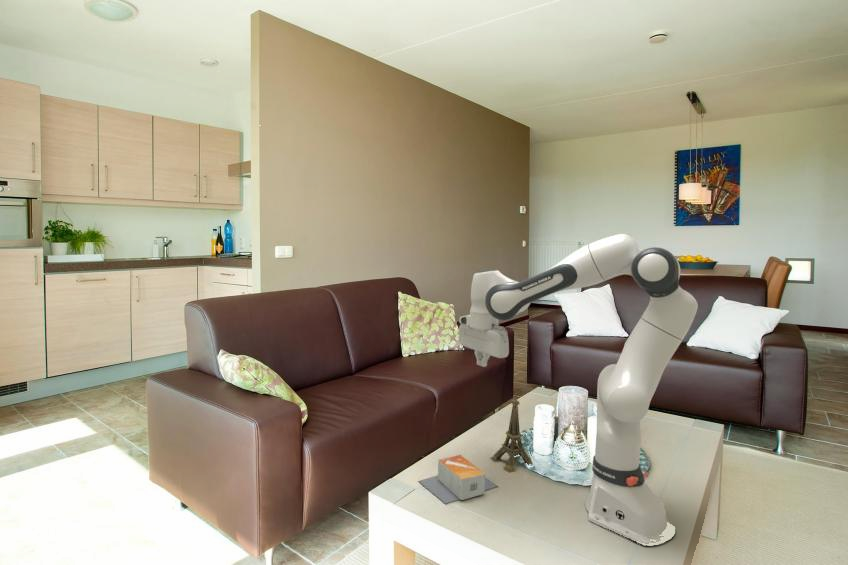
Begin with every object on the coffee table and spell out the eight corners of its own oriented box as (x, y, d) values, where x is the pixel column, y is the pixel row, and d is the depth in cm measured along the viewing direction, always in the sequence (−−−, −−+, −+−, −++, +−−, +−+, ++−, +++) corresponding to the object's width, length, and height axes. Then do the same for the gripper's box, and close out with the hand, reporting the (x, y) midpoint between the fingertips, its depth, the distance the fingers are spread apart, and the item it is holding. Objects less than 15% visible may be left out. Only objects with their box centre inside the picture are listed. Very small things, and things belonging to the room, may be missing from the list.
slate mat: (498, 486, 143) (498, 485, 143) (445, 504, 133) (445, 503, 133) (468, 467, 155) (468, 466, 155) (418, 481, 145) (418, 480, 145)
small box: (461, 479, 134) (437, 459, 145) (461, 501, 135) (437, 479, 146) (485, 472, 138) (460, 454, 149) (485, 494, 138) (459, 474, 150)
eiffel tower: (535, 466, 157) (539, 391, 154) (508, 473, 152) (512, 395, 150) (515, 453, 166) (519, 381, 164) (489, 458, 162) (493, 385, 159)
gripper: (515, 326, 143) (512, 372, 145) (471, 315, 160) (469, 357, 162) (499, 328, 140) (496, 375, 141) (456, 317, 157) (454, 359, 158)
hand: (481, 365), depth 151 cm, fingers closed
